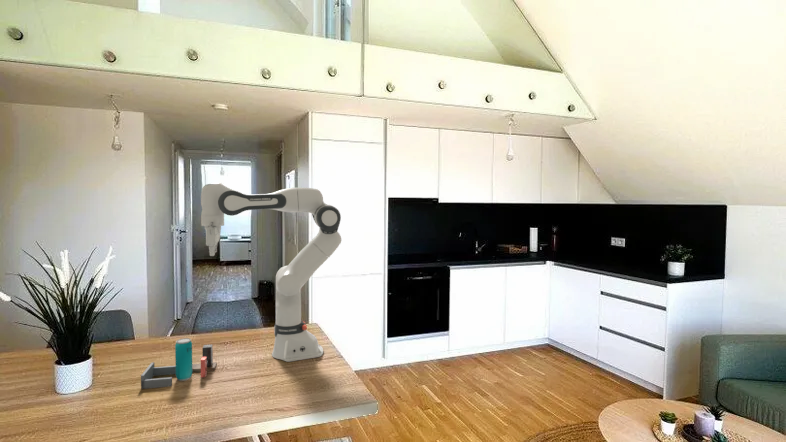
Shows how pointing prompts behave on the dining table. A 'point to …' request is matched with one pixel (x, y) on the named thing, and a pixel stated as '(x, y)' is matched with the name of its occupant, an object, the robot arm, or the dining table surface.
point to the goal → (154, 371)
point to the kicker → (206, 359)
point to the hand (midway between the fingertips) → (213, 254)
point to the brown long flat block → (198, 367)
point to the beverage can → (183, 359)
